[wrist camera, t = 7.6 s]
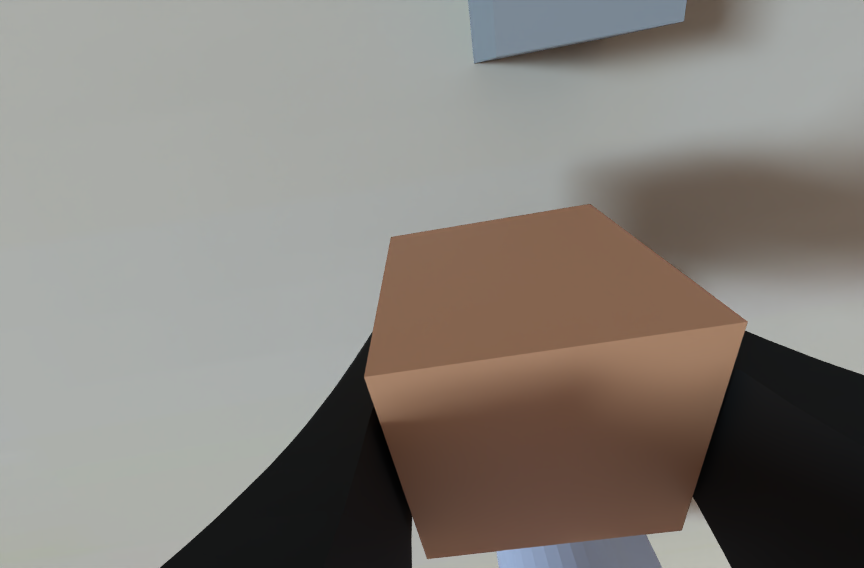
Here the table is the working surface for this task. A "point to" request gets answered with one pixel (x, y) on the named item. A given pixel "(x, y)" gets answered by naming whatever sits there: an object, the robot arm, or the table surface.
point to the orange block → (545, 381)
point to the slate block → (560, 23)
